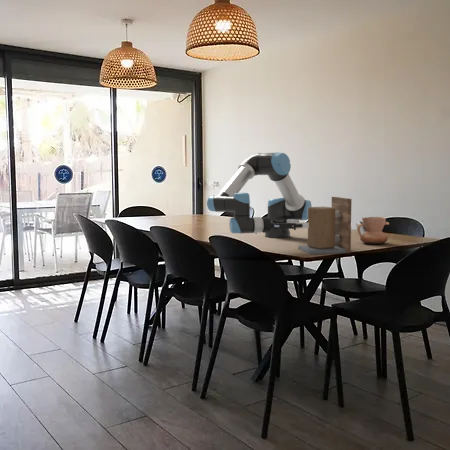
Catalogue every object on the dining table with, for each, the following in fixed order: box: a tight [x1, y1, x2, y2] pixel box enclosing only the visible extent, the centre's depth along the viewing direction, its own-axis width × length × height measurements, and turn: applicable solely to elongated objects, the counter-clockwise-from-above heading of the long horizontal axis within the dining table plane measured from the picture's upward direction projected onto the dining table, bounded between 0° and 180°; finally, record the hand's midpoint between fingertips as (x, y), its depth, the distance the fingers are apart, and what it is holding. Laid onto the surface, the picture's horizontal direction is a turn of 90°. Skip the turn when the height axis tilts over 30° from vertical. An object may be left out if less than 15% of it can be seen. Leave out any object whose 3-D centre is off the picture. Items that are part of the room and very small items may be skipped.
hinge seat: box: [297, 244, 347, 255], centre depth 260 cm, size 18×18×2 cm
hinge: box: [355, 220, 366, 234], centre depth 317 cm, size 17×5×10 cm, turn 178°
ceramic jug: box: [356, 216, 390, 245], centre depth 283 cm, size 18×14×14 cm
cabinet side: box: [331, 196, 352, 254], centre depth 261 cm, size 3×20×26 cm, turn 10°
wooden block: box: [307, 206, 335, 249], centre depth 259 cm, size 10×10×20 cm
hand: (303, 223), depth 257 cm, fingers open, 13 cm apart
